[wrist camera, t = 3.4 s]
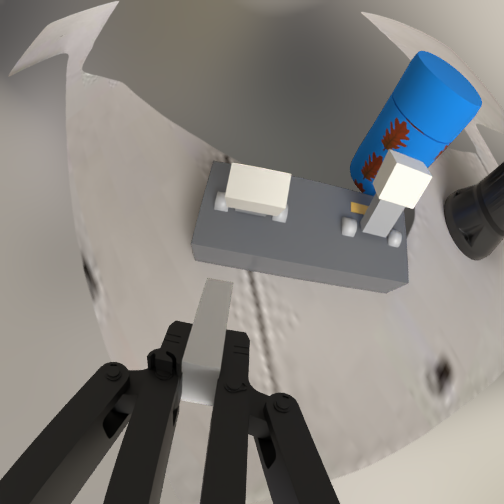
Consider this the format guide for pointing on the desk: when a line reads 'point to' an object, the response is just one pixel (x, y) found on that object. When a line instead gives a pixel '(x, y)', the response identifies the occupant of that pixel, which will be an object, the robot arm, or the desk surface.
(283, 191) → the outer lever
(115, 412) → the robot arm
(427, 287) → the desk surface
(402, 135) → the thermos
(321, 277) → the switch box
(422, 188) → the inner lever
